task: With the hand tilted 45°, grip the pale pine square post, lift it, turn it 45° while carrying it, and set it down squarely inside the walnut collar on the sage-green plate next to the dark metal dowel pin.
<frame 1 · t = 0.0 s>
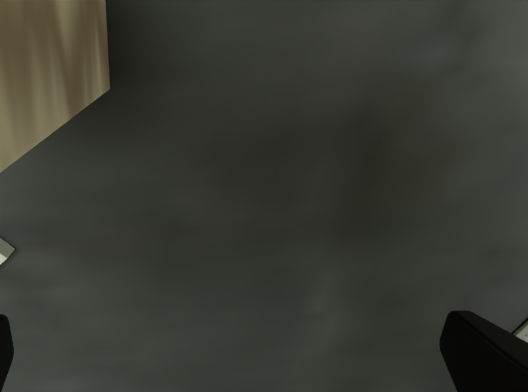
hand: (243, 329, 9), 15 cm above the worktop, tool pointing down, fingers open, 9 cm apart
pine post: (49, 29, 19), on the worktop
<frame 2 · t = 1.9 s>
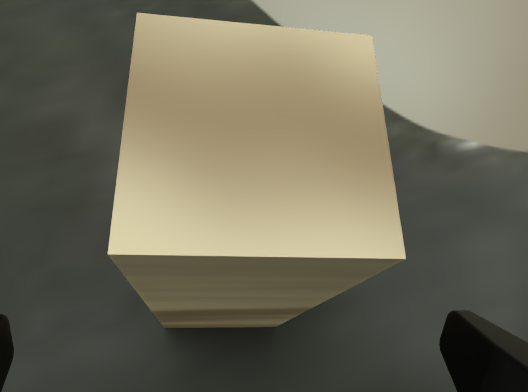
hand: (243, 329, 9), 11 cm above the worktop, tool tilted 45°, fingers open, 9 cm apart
pine post: (222, 272, 20), on the worktop
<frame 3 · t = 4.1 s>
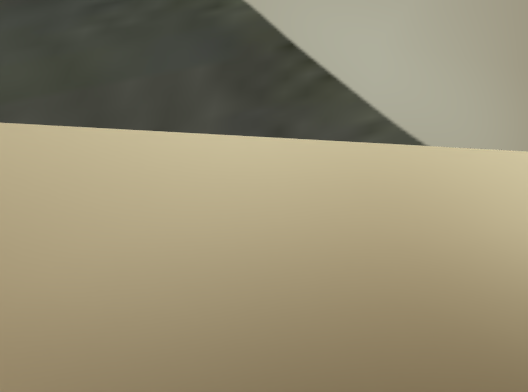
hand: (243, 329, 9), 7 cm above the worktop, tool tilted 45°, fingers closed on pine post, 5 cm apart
pine post: (222, 387, 15), on the worktop, touching gripper
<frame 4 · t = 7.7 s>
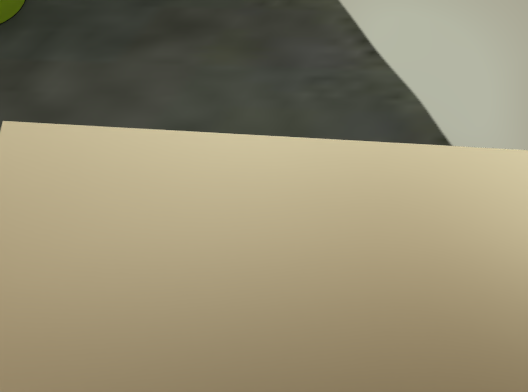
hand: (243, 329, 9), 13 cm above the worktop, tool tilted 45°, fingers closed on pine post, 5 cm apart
pine post: (222, 386, 15), point 6 cm above the worktop, touching gripper
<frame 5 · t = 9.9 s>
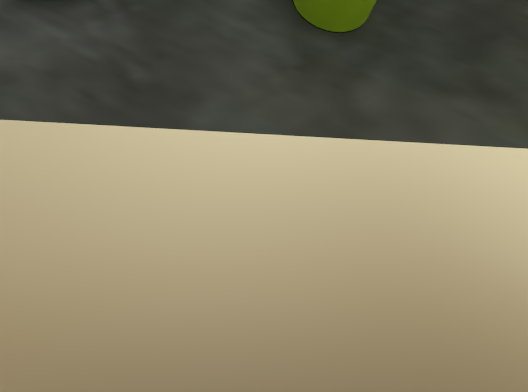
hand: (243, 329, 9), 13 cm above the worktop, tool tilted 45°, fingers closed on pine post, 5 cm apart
soap dispenser: (335, 0, 31), on the worktop
pine post: (222, 386, 15), point 6 cm above the worktop, touching gripper
when the fingers open (9 cm above the worktop, at t = 11.5 s): pine post stays where it is, resting on seat plate.
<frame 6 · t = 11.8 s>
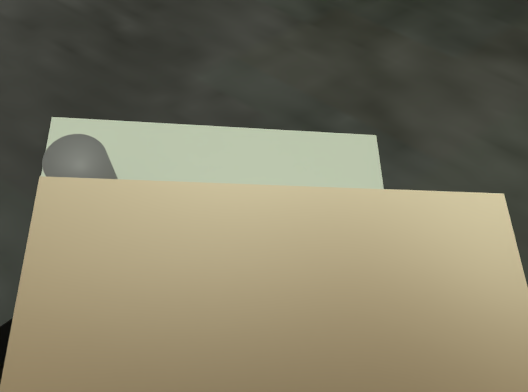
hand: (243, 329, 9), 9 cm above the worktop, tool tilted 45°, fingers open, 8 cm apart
pine post: (220, 385, 15), point 1 cm above the worktop, touching seat plate
seat plate: (218, 384, 16), on the worktop
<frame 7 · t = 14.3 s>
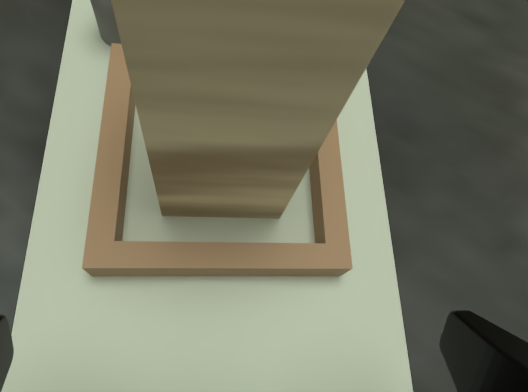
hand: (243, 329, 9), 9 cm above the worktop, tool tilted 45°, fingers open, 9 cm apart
pine post: (222, 164, 19), point 1 cm above the worktop, touching seat plate
seat plate: (221, 173, 20), on the worktop
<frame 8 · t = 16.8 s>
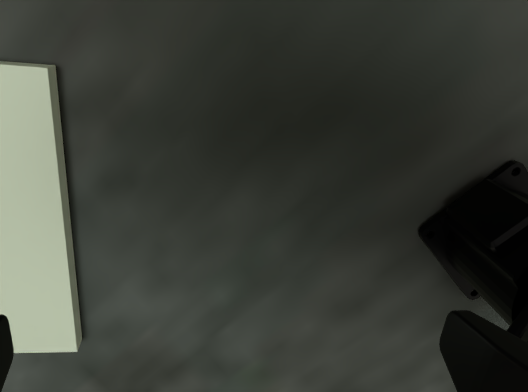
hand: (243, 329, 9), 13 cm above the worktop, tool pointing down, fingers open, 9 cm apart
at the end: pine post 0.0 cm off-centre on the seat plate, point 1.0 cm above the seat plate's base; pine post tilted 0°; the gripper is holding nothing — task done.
